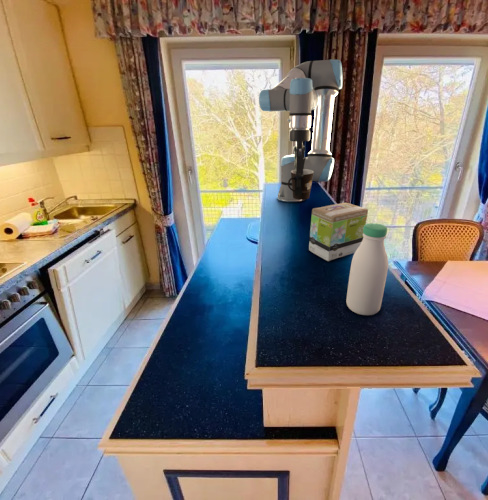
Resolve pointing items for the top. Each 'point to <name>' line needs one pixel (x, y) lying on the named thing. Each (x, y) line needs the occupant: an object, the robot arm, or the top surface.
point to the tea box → (336, 230)
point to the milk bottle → (368, 272)
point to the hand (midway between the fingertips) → (297, 192)
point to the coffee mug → (305, 183)
